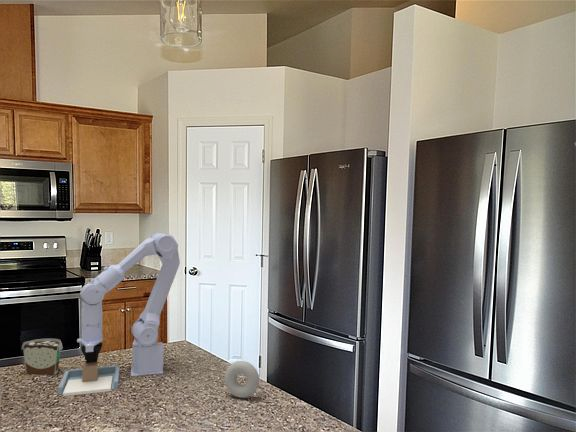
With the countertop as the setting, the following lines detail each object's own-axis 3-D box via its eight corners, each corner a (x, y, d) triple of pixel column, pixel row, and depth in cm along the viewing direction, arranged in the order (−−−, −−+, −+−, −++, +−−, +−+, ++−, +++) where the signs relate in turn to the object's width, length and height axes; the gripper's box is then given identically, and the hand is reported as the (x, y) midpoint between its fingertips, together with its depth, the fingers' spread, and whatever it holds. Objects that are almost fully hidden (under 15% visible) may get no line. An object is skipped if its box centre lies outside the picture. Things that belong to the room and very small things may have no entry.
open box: (119, 373, 142) (119, 365, 142) (117, 390, 129) (117, 381, 129) (65, 378, 137) (65, 370, 137) (58, 396, 124) (58, 387, 124)
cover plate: (112, 378, 136) (112, 360, 136) (110, 391, 127) (110, 372, 126) (68, 382, 132) (68, 364, 132) (62, 396, 123) (62, 376, 123)
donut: (261, 397, 125) (261, 360, 125) (256, 402, 122) (257, 364, 121) (227, 392, 128) (227, 357, 127) (222, 397, 124) (222, 361, 124)
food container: (71, 370, 144) (71, 338, 144) (59, 377, 138) (59, 344, 138) (34, 368, 145) (34, 337, 145) (21, 375, 139) (21, 342, 139)
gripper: (80, 318, 141) (80, 362, 141) (73, 330, 127) (73, 379, 127) (104, 317, 143) (104, 360, 143) (101, 329, 129) (100, 376, 130)
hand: (91, 369), depth 136 cm, fingers closed
